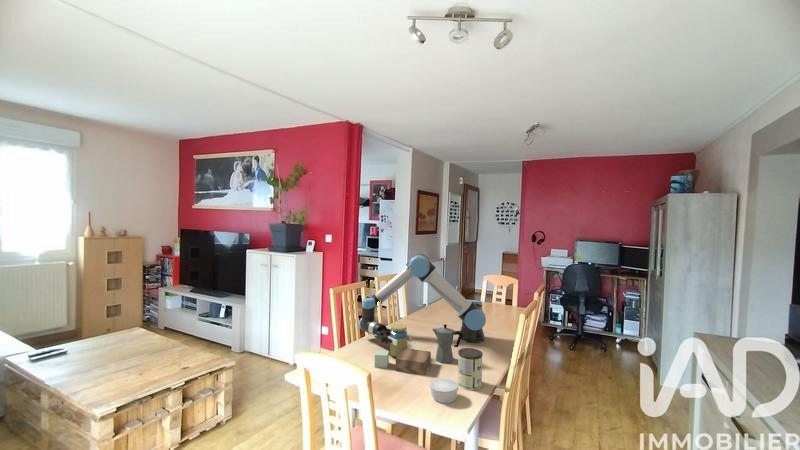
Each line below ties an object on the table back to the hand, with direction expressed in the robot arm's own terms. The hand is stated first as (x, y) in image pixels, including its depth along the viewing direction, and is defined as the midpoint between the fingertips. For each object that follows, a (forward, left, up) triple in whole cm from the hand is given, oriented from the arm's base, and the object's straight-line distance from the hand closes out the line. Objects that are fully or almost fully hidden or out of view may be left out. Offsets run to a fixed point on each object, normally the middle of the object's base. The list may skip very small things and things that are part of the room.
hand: (404, 341), depth 177 cm
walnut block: (-8, +9, -9) cm, 15 cm away
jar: (+4, -2, -9) cm, 10 cm away
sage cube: (+7, +13, -9) cm, 17 cm away
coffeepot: (-21, -5, -9) cm, 23 cm away
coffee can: (-36, +17, -9) cm, 41 cm away
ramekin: (-28, +32, -9) cm, 43 cm away
